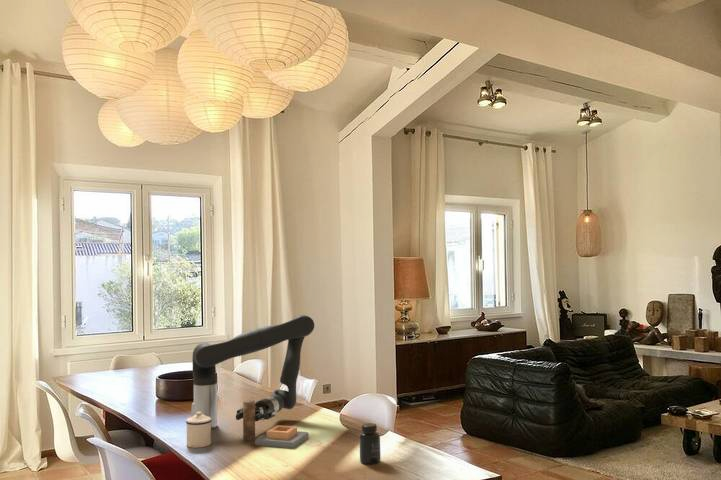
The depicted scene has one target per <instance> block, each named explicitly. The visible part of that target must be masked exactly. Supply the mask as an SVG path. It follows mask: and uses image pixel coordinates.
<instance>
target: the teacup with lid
mask: <svg viewBox="0 0 721 480" xmlns="http://www.w3.org/2000/svg"><path fill="white" fill-rule="evenodd" d="M211 421H212V419H211V418H210V417H208V416H205V415H203V414H202V412H197V413H196V415H194V416H193V417H192V416H191V417H188V418H187V419H186V421H185V423H186V446H188V447H189V448H194V449H195V448H204V447H208V446H210V445H211V444H212V428H211Z"/></svg>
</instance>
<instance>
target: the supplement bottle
mask: <svg viewBox="0 0 721 480" xmlns="http://www.w3.org/2000/svg"><path fill="white" fill-rule="evenodd" d="M377 425H378V424H376V423H374V422H373V423H372V422H371V423H370V422H369V423H368V422H367V423H366V422H365V423H364V424H362V425H361V433H360V434H359V437H358V438H359V462H360V463H361V464H363V465H368V466H369V465H377V464H379V463H380V462H381V458H382V457H381V435H380V433H378V432H377V430H378V428H377Z"/></svg>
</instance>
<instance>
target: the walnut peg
mask: <svg viewBox="0 0 721 480" xmlns="http://www.w3.org/2000/svg"><path fill="white" fill-rule="evenodd" d="M255 403H256V401H255V400H254V399H250V400H249V399H247V400H244V401H242V408H243V418H242V427H243V428H242V440H243V441H245V442H253V441H255V439H256V421H255Z"/></svg>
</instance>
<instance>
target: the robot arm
mask: <svg viewBox="0 0 721 480" xmlns="http://www.w3.org/2000/svg"><path fill="white" fill-rule="evenodd" d="M314 329H315V322H314V319H313V318H311V317H310V316H309V315H305V314H302V315H297V316H294V317H293V318H292V319H290V320H288V321H286V322H282V323H279V324H278V323H277V324H272V325H266V326H261V327H257V328H253V329H251V330H247V331H244V332H242V333H240V334H238V335H236V336H234V337H233V338H230V339H229V340H226V341H221V342H218V343H217V342H216V343H211V344H210V343H207V342H201V343H199V344H197V345H196V346H195V348H194V349H193V351H192V377H193V378H192V379H193V402H192V403H191V417H193V416H194V415H196V413H197V412H202V414H203V415H205V416H208V417H210V418H211V419H212V421H211V429H213V428H216V427H217V426H218V376H217V369H216V367H217V366H216V365H219V364H221V363H223V362H225V361H227V360H231V359H233V358H237V357H242V356H245V355H250V354H252V353H257V352H259V351H262V350H265V349H268V348H270V347H273V346H277V345H278V344H280V343H283V342H285V341H287V347H286V353H285V358H284V362H283V364H282V365H283V366H282V369H281V374H280V379H279V382H280V383H281V384H282V385H284V386H286V387H287V390H284V389H283V390H282V389H275V390H273V392H272V394H271V395H269V396H268V397H267V396H266V397H264V398H262V399H260V400H258V401H255V422H259V421H264V420H265V421H266V420H270V419H272V418H274V417H275V416H276V413H278V412H280V411H282V409H286V410H292V409H293V408H294V407H295V406H296V405H297V404H296V403H297V381H298V376H299V372H300V368H301V355H302V354H301V353H302V352H301V351H302V347H303V343H304V340H305V338H306V337H307V336H309V335H311V334H312V333H313V331H314ZM235 419H236V421H239V420H241V419H242V420H243V407H241V408H240V409H237V410H236V414H235Z"/></svg>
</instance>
